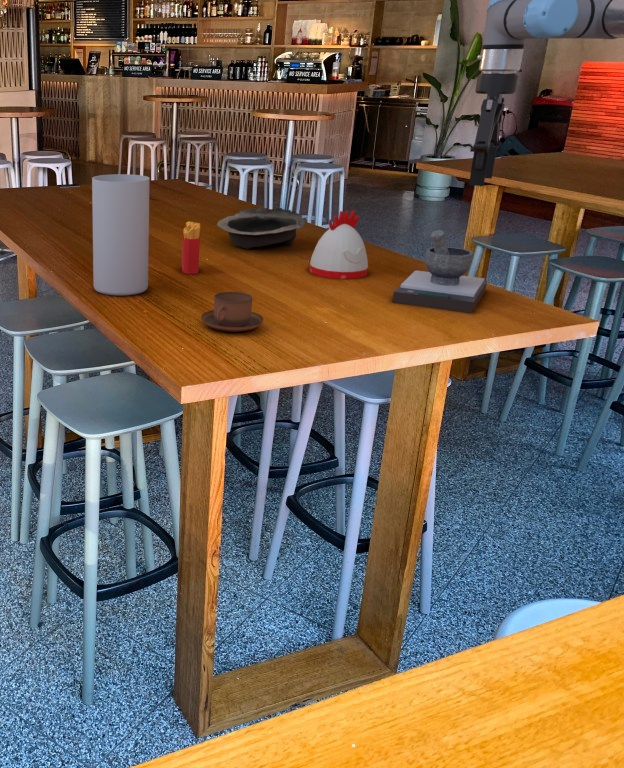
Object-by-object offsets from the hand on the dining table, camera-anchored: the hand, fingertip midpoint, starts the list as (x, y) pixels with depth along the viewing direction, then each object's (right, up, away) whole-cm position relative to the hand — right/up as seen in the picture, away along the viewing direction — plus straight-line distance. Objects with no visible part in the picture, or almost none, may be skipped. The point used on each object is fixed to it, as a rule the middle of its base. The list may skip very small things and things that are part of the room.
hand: (480, 181), depth 166 cm
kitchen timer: (-21, -15, +31) cm, 40 cm away
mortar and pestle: (-4, -20, +9) cm, 22 cm away
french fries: (-58, -14, +32) cm, 68 cm away
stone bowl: (-35, -3, +59) cm, 69 cm away
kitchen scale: (-5, -23, +10) cm, 25 cm away
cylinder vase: (-75, -21, +16) cm, 80 cm away
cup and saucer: (-54, -31, -10) cm, 63 cm away
